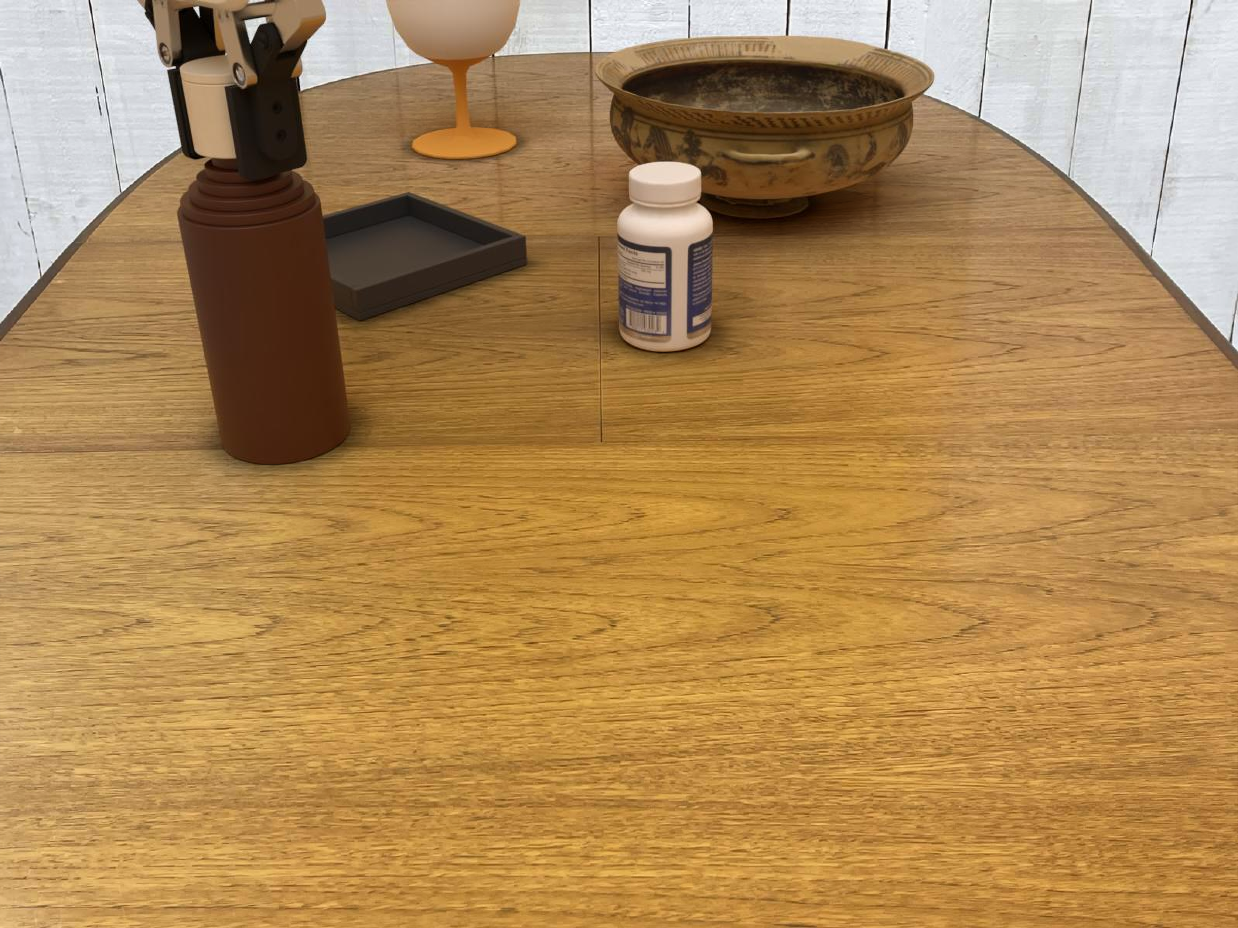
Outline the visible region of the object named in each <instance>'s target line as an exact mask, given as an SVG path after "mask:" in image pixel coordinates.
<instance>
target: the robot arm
mask: <svg viewBox="0 0 1238 928" xmlns="http://www.w3.org/2000/svg"><path fill="white" fill-rule="evenodd" d="M136 1H137V2H138V3H139V4H140V6H141V7H142V8H143V9H144V16H145V17H146V19H147V20H148V21H149V23H150V25H151V26H152V28H153V30H154V32H155V39H156V49H157V55H158V56H159V60H160V62H161V63H162V65H163V66H164V67H165V68H170V69H166V72H167V73H166V74H167V79H168V83H169V88H170V94H171V100H172V104H173V110H174V116H175V120H176V126H177V131H178V136H179V141H180V142H179V143H180V147H181V152H182V154H183V155H184V157H186V158H188V159H191V160H193V161H194V160H195V161H197V160H201V159H205V158H207V157H205V156H201V155H199V154H198V153H196V151H195V149H194V144H193V139H192V133H191V128H190V122H189V117H188V111H187V106H186V100H185V95H184V90H183V84H182V78H181V73H180V67H181V66H182V65H183V64H185V63H187V62H190V61H193V60H197V59H201V58H206V57H213V56H222V55H227V58H228V62H229V66H230V70H231V74H232V77H233V80H234V82H235V84H234V85H230V86H225V87H224V88H225V94H226V100H227V106H228V112H229V118H230V124H231V130H232V136H233V142H234V148H235V154H236V160H237V166H238V171H239V174H240V175H241V176H242V177H243V178H246V179H249V180H257V179H261V178H264V177H268V176H272V175H276V174H279V173H283V172H287V171H290V170H292V171H295V170H297V169H301V168H303V167H305V165H306V163H307V162H308V153H307V147H306V146H307V145H306V141H305V140H306V139H305V131H304V125H303V118H302V111H301V103H300V95H299V87H298V82H297V78H300V77H301V75H302V74H303V68H304V67H303V61H302V55H303V53H304V51H305V49H306V47H307V44H308V41H309V40H310V39H311V38H312V37H313V36H314V35H315V33H316V32H318V31H319V30H320V28H322V26H323V25H325V22H326V20H327V10H326V8H325V5H324V3H323V0H262V1H255V2H254V1H253V2H250V0H136ZM196 7H198V13H197V11H196V9H195V8H196ZM262 18H265V22H264V23H260V24H259V25H258V26H257V28H256V31H255V33H254V35H253V37H252V40H251V41H250V36H249V32H248V28H247V24H246V21H251V20H257V19H262ZM173 67H174V68H173Z"/></svg>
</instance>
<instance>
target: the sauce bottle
mask: <svg viewBox="0 0 1238 928" xmlns="http://www.w3.org/2000/svg"><path fill="white" fill-rule="evenodd" d="M176 217H177V221H178V227H179V231H180V238H181V242H182V247H183V252H184V257H185V262H186V269H187V274H188V279H189V283H190V289H191V294H192V298H193V299H192V300H193V303H194V309H195V313H196V319H197V324H198V325H197V326H198V329H199V334H200V341H201V344H202V345H201V346H202V349H203V356H204V361H205V366H206V370H207V376H208V380H209V385H210V392H211V396H212V403H213V406H214V412H215V417H216V422H217V427H218V432H219V438H220V442H221V445H222V448H223V450H225V451H226V453H227V454H228V455H230V456H231V457H233V458H235V459H238V460H240V461H244V462H247V463H251V464H260V465H281V464H292V463H296V462H297V463H298V462H302V461H306V460H310V459H312V458H315V457H318V456H321V455H323V454H325V453H328V452H330V451H332V450H333V449H334V448H336V447H338V446H339V445H340V444H341V443H343V442H344V440H346V438H347V437H348V435H349V433H350V430H351V417H350V412H349V411H350V410H349V403H348V395H347V388H346V380H345V374H344V365H343V358H342V352H341V351H342V350H341V344H340V338H339V336H340V335H339V328H338V321H337V320H338V319H337V314H336V308H335V305H334V298H333V290H332V283H331V276H330V268H329V261H328V253H327V246H326V238H325V231H324V223H323V209H322V203H321V198H320V195H319V194H317V193H316V192H315V188H314V186H313V185H312V183H310V182H309V181H307V180H305V179H303V176H302V175H301V174H299V173H298V172H296V171H295V170H290V171H287V172H283V173H279V174H276V175H272V176H268V177H264V178H261V179H257V180H249V179H246V178H243V177H242V176H241V175H240V174H239V171H238V166H237V160H236V159H219V158H209V159H208V160H207V161H206V162H205V163H204V164H203V169H202V170H200V171H199V172H198V173H197V174H196V175H195V180H194V181H192V182H191V183H190V184H189V185H188V188H187V191H186V192H184V193H183V194H182V195H181V197H180V199H179V206H178V208H177V211H176Z"/></svg>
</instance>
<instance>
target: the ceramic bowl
mask: <svg viewBox="0 0 1238 928" xmlns="http://www.w3.org/2000/svg"><path fill="white" fill-rule="evenodd" d="M594 75H595V76H596V78H597V79H598V80H599V81H600V83H601V84H603V85H604V86H605V87H606V88H607V89H608V90H609V91H610V92H612V93H613V96H612V97H611V103H610V108H609V124H610V130H611V133H612V135H613V138H614V140H615V142H616V144H617V145H618V146H619V148H620V149H621V150H622V151H623V153H624V154H625V155H626V156H627V157H628V158H629V159H631V160H632V161H633V162H634V163H635V164H637V166H639V165H643V164H647V163H653V162H680V163H685V164H690V165H693V166H695V167H697V168H698V169H699V170H700V171H701V193H700V194H701V197H700V199H699V201H700V204H701V205H702V206H703V207H704V208H705V209H707V210H711V211H713V213H714V212H715V213H718V214H721V215H724V216H732V217H738V218H745V219H746V218H749V219H773V218H783V217H787V216H791V215H795V214H797V213H800V212H802V211H804V210H805V209H807V207H808V206H809V199H808V197H809V196H814V195H815V196H816V195H819V194H824V193H828V192H834V191H836V190H837V191H838V190H841V189H843V188H844V189H845V188H846V187H851V186H853V185H855V184H858V183H861V182H864V181H866V180H868V179H869V178H872V177H873V176H875V175H877V174H879V173H880V172H882V171H883V170H885V169H886V168H888V167H890V165H892V164H893V162H895V160H897V158H899V157H900V155H901V154H902V153H903V152H904V150H905V149H906V148H907V146H908V144H909V141H910V139H911V136H912V131H913V127H914V108H913V102H914V101H915V100H917V99H918V98H919V97H921V96H922V95H924V94H925V93H926V92H927V91H928V90H929V89H930V88H931V87H932V85H933V84H934V83H935V78H936V77H935V76H936V75H935V73H934V71H933V69H932V68H931V67H930V66H929V65H927V64H926V63H925V62H924V61H921V60H919V59H918V58H915V57H912V56H910V55H907V54H904V53H901V52H898V51H893V50H891V49H887V48H884V47H879V46H875V45H873V44H868V43H865V42H860V41H855V40H849V39H843V38H836V37H835V38H834V37H825V36H824V37H823V36H806V35H733V36H732V35H731V36H729V35H727V36H726V35H725V36H724V35H718V36H717V35H715V36H698V37H697V36H696V37H687V38H686V37H685V38H675V39H667V40H666V39H665V40H659V41H652V42H647V43H642V44H638V45H637V44H636V45H632V46H629V47H625V48H621V49H619V50H617V51H614V52H612V53H610V54H608V55H605V56H604V57H602V58H601V59H600V60H598V62H596V63H595V66H594Z"/></svg>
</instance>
